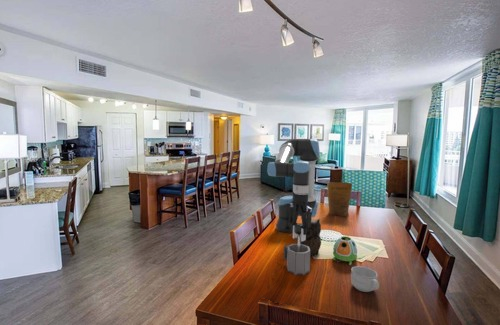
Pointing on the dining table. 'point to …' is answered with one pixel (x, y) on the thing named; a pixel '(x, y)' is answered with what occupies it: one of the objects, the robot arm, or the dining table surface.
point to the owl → (313, 237)
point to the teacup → (364, 279)
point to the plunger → (298, 231)
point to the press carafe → (297, 259)
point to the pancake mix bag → (339, 198)
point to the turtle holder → (345, 249)
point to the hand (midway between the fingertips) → (299, 239)
